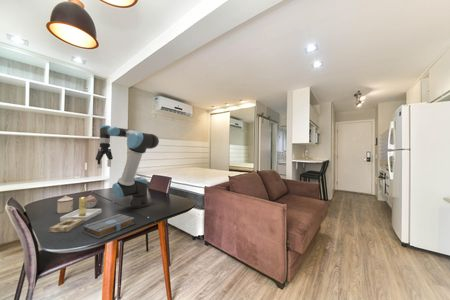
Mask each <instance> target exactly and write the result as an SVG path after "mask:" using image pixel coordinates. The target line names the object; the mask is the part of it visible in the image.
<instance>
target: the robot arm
mask: <svg viewBox="0 0 450 300" xmlns="http://www.w3.org/2000/svg"><path fill="white" fill-rule="evenodd" d="M111 137H120V138H121V137H122V138H127V140H126V142H127V143H126V145H127V147H128V150H129V153H128V156H127V159H126V162H125V165H124V167H123V172H122V174H121V177H119V178H118V179H117V182H114V183H113V184H112V186H111V187H112V188H111V191H112V194H113V196H114V197H115V198H117V199H122V198H126V197H129V196H130V197H131V199H130V201H129V205H128V206H129V208H131V209H142V208H146V207H149V205H150V200H149V198H148V179H146V178H140V177H139V178H138V177H137V178H135V177H136V174H137V170H138V168H139V165H140V162H141V159H142V156H143V154H145V153H146V151H147V149H149V150H151V149H155V148H157V146H158V145H159V143H160V138H158V136H157V135H155V134H153V133H145V132H140V131H136V130H134V129H129V128H123V127H122V128H121V127H117V126H110V125H108V124H101V125H100V127H99V148H98V150H97V154H96V156H95V160H96V161H97V169H102V162H103V161H102V159H103V157H104V155H105V156H106V158H107V160H106V161H107V165H106V166H107V168H109V167H112V160H113V154H112V149H111Z"/></svg>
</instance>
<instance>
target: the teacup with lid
mask: <svg viewBox="0 0 450 300" xmlns="http://www.w3.org/2000/svg"><path fill="white" fill-rule="evenodd" d="M56 209H57V210H56V211H57V214H65V213H66V214H68V213H71V212H73V211H74V197H70V196H68V195H64V196H63V197H62V198H59V199H57V208H56Z"/></svg>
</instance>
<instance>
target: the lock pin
mask: <svg viewBox="0 0 450 300" xmlns="http://www.w3.org/2000/svg"><path fill="white" fill-rule="evenodd" d="M87 197H88V196H80V197H79V198H78V209H79V216H86V209H87V208H86V201H87Z"/></svg>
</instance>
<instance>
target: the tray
mask: <svg viewBox="0 0 450 300" xmlns="http://www.w3.org/2000/svg"><path fill="white" fill-rule="evenodd" d="M102 212H103V209H102V208H89V209H87V208H86V216H79V208H78V209H76V210H72V211H70V212H68V213H66V214H64V215H62V216H60V217H59V223H60V222H62V221H65V220H67V219H83V223H84V222H88V221H90V220H92V219H93V218H95V217H97V216H99V215H101V214H102Z"/></svg>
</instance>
